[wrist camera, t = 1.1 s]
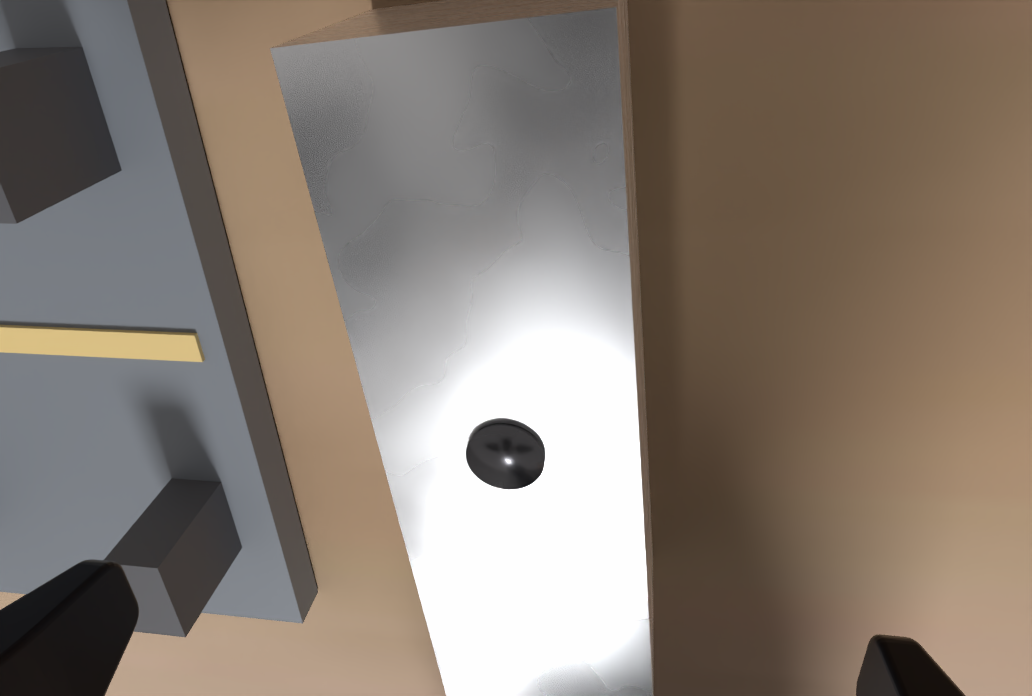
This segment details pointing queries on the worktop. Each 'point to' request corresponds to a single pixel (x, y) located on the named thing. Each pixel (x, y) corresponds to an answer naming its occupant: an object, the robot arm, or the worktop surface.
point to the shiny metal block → (495, 321)
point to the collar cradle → (128, 333)
